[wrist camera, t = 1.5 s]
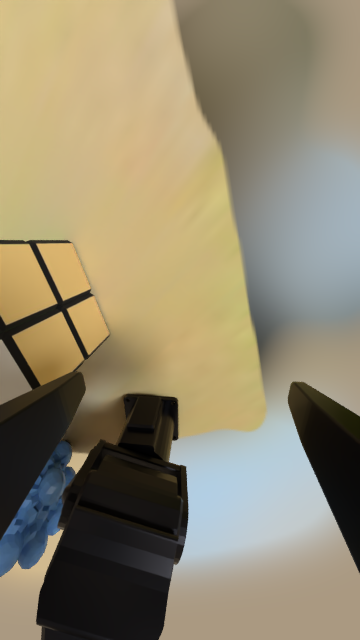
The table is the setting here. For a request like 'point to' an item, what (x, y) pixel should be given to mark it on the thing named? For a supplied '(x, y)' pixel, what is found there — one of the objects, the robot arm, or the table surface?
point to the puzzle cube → (44, 315)
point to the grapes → (37, 513)
